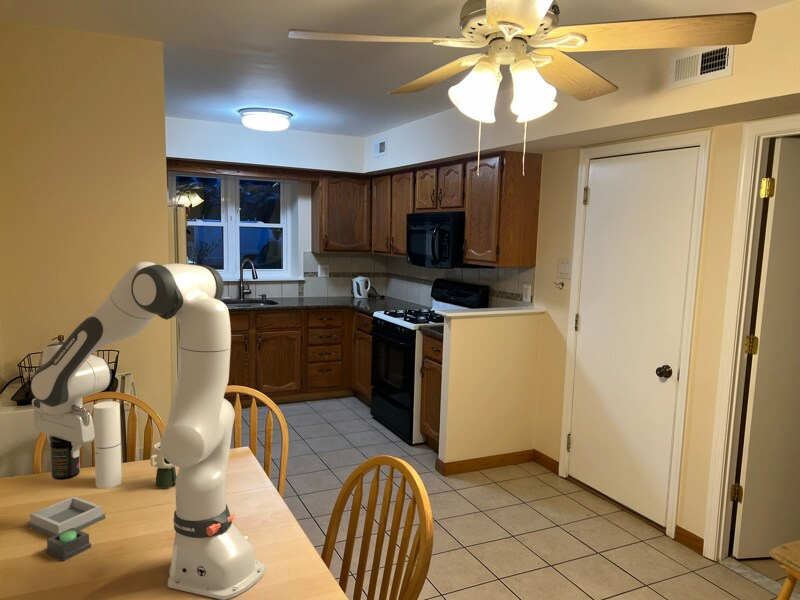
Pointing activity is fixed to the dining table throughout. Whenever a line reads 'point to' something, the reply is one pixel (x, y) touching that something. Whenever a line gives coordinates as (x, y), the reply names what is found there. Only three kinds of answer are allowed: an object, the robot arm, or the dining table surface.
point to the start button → (68, 536)
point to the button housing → (67, 545)
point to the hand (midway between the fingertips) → (64, 453)
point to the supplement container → (63, 460)
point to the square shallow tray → (65, 516)
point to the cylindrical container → (107, 444)
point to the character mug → (162, 468)
